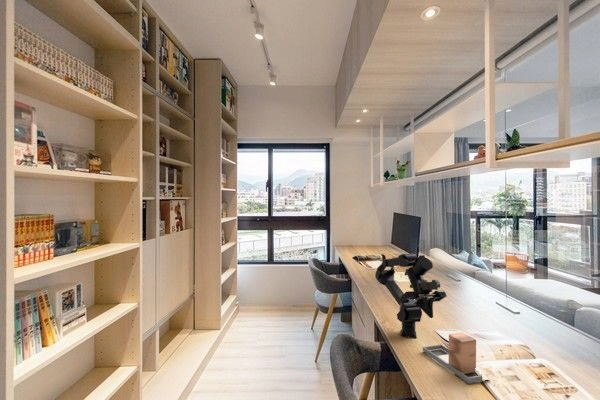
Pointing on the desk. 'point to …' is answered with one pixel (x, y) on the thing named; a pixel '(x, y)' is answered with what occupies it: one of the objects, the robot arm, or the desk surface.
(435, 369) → the desk surface
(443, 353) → the trap box
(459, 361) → the terracotta block
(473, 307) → the desk surface
